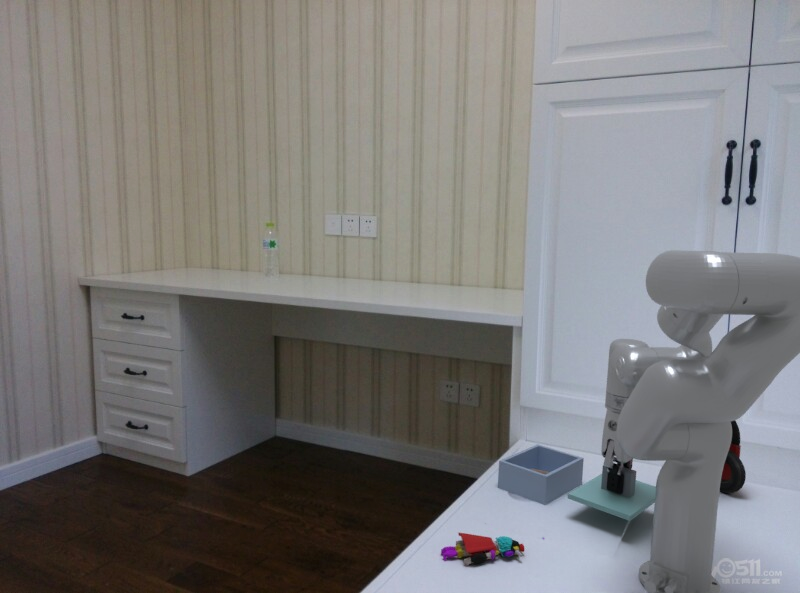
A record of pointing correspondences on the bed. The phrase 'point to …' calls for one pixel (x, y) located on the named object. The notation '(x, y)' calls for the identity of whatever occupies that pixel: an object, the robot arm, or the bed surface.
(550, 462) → the box
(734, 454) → the headphones
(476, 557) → the toy
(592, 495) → the lid
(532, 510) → the bed surface
